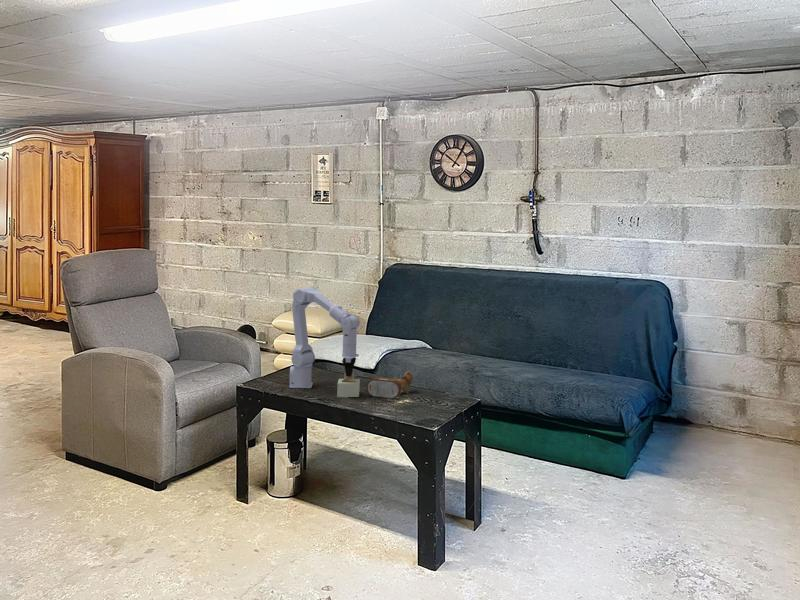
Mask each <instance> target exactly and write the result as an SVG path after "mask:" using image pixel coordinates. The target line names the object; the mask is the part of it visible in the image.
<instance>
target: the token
mask: <svg viewBox="0 0 800 600" xmlns="http://www.w3.org/2000/svg"><path fill="white" fill-rule="evenodd" d="M343 374H344V375H343V376H344V378H343V379H344V382H354V379H355V373H353V372H352V375H351V376H346V372H344V373H343Z"/></svg>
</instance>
